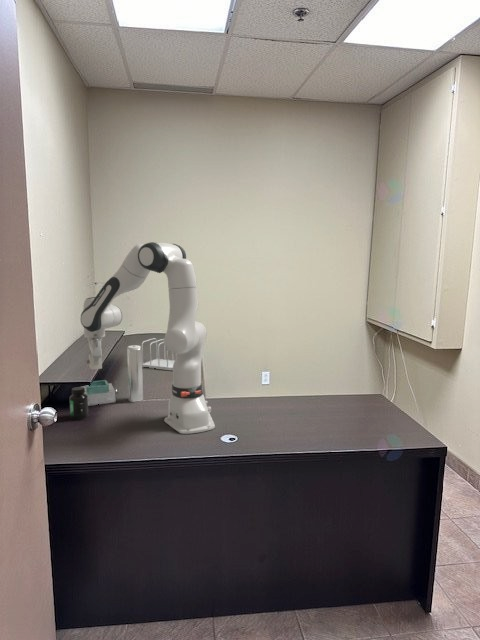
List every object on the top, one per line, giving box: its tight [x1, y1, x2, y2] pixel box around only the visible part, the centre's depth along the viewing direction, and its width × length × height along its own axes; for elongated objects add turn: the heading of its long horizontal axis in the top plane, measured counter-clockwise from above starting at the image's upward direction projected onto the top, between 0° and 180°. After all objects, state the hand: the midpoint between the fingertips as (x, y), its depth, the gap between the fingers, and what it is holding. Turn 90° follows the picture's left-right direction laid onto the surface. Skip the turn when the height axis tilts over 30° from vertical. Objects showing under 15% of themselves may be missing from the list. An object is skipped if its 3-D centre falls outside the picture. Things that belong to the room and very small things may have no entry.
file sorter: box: [140, 337, 176, 372], centre depth 249 cm, size 25×17×16 cm
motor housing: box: [80, 379, 119, 407], centre depth 189 cm, size 14×16×8 cm
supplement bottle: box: [68, 386, 89, 421], centre depth 167 cm, size 7×7×12 cm
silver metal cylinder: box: [126, 344, 144, 403], centre depth 188 cm, size 6×6×25 cm
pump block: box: [86, 353, 103, 370], centre depth 186 cm, size 5×6×6 cm
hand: (95, 363), depth 187 cm, fingers closed on pump block, 5 cm apart
